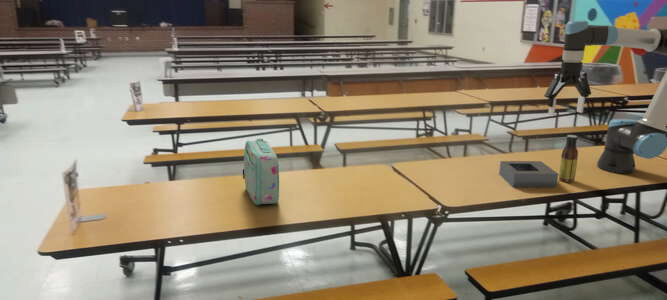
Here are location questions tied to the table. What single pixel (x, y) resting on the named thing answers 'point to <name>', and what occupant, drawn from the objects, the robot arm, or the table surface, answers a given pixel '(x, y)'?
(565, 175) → the sauce bottle
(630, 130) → the robot arm
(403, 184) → the table surface
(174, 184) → the table surface
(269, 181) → the lunch box
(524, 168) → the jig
